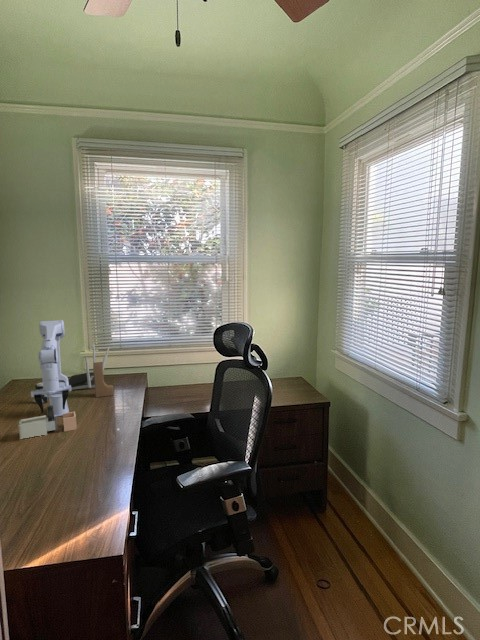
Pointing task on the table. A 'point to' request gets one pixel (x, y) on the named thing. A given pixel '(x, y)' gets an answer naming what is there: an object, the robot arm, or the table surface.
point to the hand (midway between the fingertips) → (53, 410)
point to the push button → (44, 397)
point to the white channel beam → (32, 427)
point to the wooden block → (101, 382)
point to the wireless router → (86, 375)
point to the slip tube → (50, 419)
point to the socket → (69, 421)
